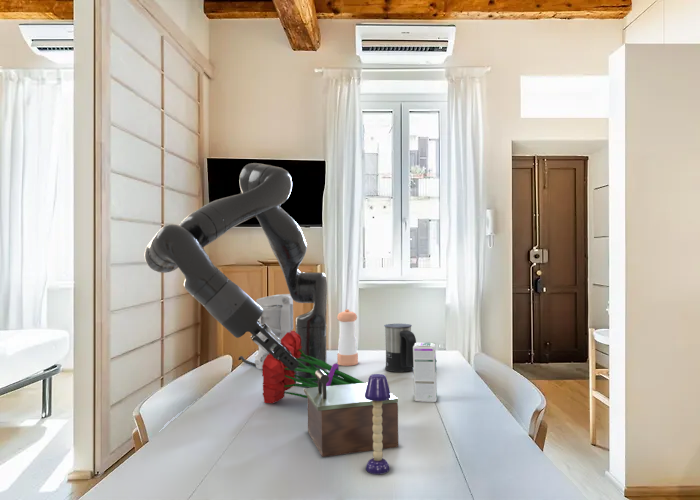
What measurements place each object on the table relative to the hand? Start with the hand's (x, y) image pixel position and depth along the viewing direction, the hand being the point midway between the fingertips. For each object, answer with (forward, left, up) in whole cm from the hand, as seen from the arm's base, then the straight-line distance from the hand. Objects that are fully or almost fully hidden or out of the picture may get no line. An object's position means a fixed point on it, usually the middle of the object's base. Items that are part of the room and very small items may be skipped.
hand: (292, 362), depth 98 cm
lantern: (-47, +56, -17) cm, 75 cm away
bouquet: (-9, +26, -17) cm, 32 cm away
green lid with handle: (+8, +8, -8) cm, 14 cm away
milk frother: (-3, +73, -17) cm, 75 cm away
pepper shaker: (-26, +71, -17) cm, 77 cm away
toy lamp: (+20, -1, -17) cm, 26 cm away
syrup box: (+13, +43, -17) cm, 48 cm away
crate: (+9, +9, -17) cm, 21 cm away
